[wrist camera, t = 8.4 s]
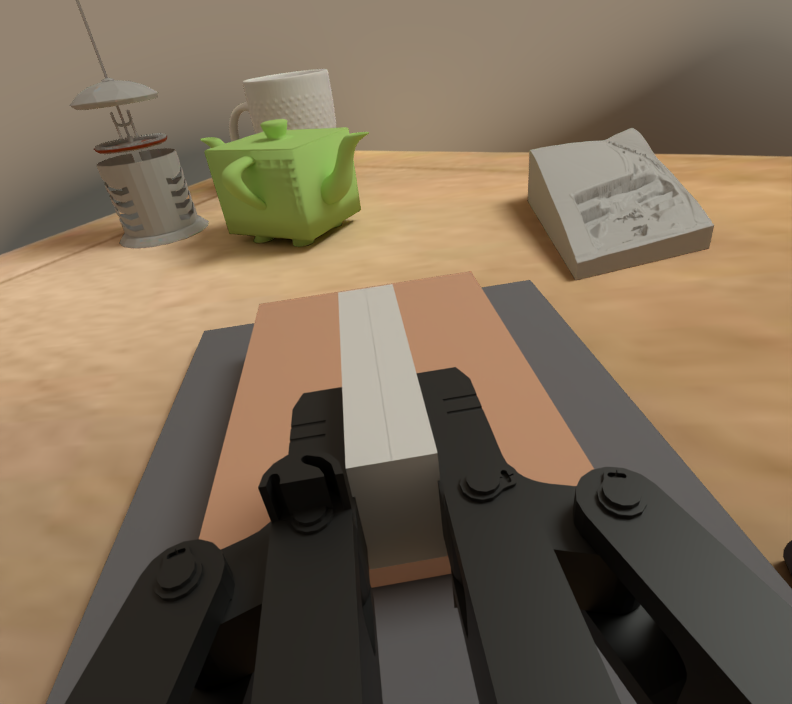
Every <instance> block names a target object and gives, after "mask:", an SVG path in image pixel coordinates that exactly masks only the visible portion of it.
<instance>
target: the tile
mask: <svg viewBox="0 0 792 704" xmlns="http://www.w3.org/2000/svg"><path fill="white" fill-rule="evenodd" d="M392 284H393V288H394V291H395V295H396V299H397V303H398V306H399V310H400V314H401V318H402V321H403V325H404V329H405V333H406V336H407V340H408V344H409V348H410V351H411V355H412V359H413V363H414V366H415V370H416V373H421V372H427V371H433V370H440V369H446V368H452V367H456V368H458V369H459V370H460V371H461V372H463V373H464V374H465V375H466V376H468V377H469V378H470V379H471V382H472V384H473V387H474V389H475V391H476V394H477V397H478V398H479V401H480V403H481V405H482V409H483V410H484V413H485V415H486V417H487V420H488V422H489V424H490V427H491V429H492V432H493V434H494V436H495V439H496V441H497V443H498V446H499V448H500V451H501V453H502V455H503V457H504V459H505V460H506V462H507V464H509V465H510V466H512V467H513V468H515V469H516V471H517V472H518V473H519V474H521V475H523V476H524V477H527V478H529V479H532V480H534V481H538V482H543V483H549V484H559V485H570V486H577V484H578V482H579V480H580V478H581V477H582V476H583V475H585V474H586V473H588V472H589V471H591V470H593V469H594V468H593V466H592V464H591V463H590V461H589V460H588V458H587V456H586V455H585V453H584V452H583V450H582V448H581V447H580V445H579V444H578V442H577V440H576V439H575V437H574V436H573V434H572V432H571V431H570V429H569V428H568V426H567V424H566V423H565V421H564V420H563V418H562V416H561V415H560V413H559V411H558V410H557V408H556V407H555V405H554V403H553V402H552V400H551V399H550V397H549V395H548V394H547V392H546V391H545V389H544V387H543V386H542V384H541V383H540V381H539V379H538V378H537V376H536V375H535V373H534V371H533V370H532V368H531V367H530V365H529V363H528V362H527V360H526V359H525V357H524V355H523V354H522V352H521V351H520V349H519V347H518V346H517V344H516V343H515V341H514V339H513V338H512V336H511V335H510V333H509V331H508V330H507V328H506V326H505V325H504V323H503V322H502V320H501V318H500V317H499V315H498V314H497V312H496V310H495V309H494V307H493V306H492V304H491V302H490V301H489V299H488V298H487V296H486V294H485V293H484V291H483V290H482V288H481V286H480V285H479V283H478V282H477V280H476V278H475V277H474V275H473V274H472V272H471V271H469V272H463V273H456V274H450V275H443V276H437V277H431V278H424V279H418V280H411V281H405V282H398V283H392ZM386 285H390V284H386ZM379 286H383V285H379ZM373 287H377V286H373ZM366 288H371V287H366ZM360 289H364V288H360ZM353 290H358V289H353ZM347 291H351V290H347ZM341 292H345V291H341ZM338 387H342V371H341V348H340V325H339V301H338V292H334V293H328V294H321V295H315V296H308V297H302V298H296V299H289V300H283V301H276V302H270V303H263V304H259V308H258V312H257V316H256V320H255V323H254V327H253V331H252V335H251V339H250V343H249V347H248V351H247V354H246V358H245V362H244V366H243V370H242V374H241V378H240V382H239V385H238V389H237V393H236V397H235V401H234V405H233V409H232V412H231V416H230V420H229V424H228V428H227V432H226V436H225V440H224V443H223V447H222V451H221V455H220V459H219V463H218V467H217V471H216V474H215V478H214V482H213V486H212V490H211V494H210V498H209V502H208V505H207V509H206V513H205V517H204V521H203V525H202V529H201V532H200V536H199V539H201V540H205V541H209V542H213V543H214V544H215V545H216V546H217V547H218V548H219V549H220V550H221V549H223V548H225V547H228V546H230V545H232V544H234V543H236V542H238V541H241V540H243V539H245V538H247V537H249V536H251V535H253V534H254V533H256V532H258V531H260V530H261V529H262V528H263V527H264V526H266V525H267V524H268V523H269V522H270V521H271V520H270V518H269V515H268V512H267V510H266V507H265V505H264V502H263V500H262V497H261V494H260V492H259V489H258V486H259V484H260V481H261V479H262V476H263V474H264V473H265V472H266V471H267V470H268V469H269V468H270V467H271V466H272V464H273V463H275V462H277V461H278V460H280V459H282V458H283V457H285V456H286V455H288V451H289V443H290V430H291V420H292V409H293V408H294V406H295V405H296V403H297V402H298V400H299V398H300V397H301V395H302V394H303V393H307V392H314V391H320V390H326V389H332V388H338ZM446 574H451V567H450V562H449V558H448V554H447V556H445V557H439V558H434V559H428V560H422V561H417V562H411V563H405V564H400V565H394V566H388V567H383V568H377V569H372V570H370V568H369V577H370V585H371V588H374V587H379V586H385V585H390V584H396V583H402V582H407V581H413V580H418V579H424V578H430V577H435V576H441V575H446Z"/></svg>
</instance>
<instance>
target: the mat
mask: <svg viewBox="0 0 792 704" xmlns="http://www.w3.org/2000/svg"><path fill="white" fill-rule="evenodd" d="M482 290H483V291H484V293H485V294H486V296H487V298H488V299H489V301H490V302H491V304H492V306H493V307H494V309H495V310H496V312H497V314H498V315H499V317H500V318H501V320H502V322H503V323H504V325H505V326H506V328H507V330H508V331H509V333H510V335H511V336H512V338H513V339H514V341H515V343H516V344H517V346H518V347H519V349H520V351H521V352H522V354H523V355H524V357H525V359H526V360H527V362H528V363H529V365H530V367H531V368H532V370H533V371H534V373H535V375H536V376H537V378H538V379H539V381H540V383H541V384H542V386H543V387H544V389H545V391H546V392H547V394H548V395H549V397H550V399H551V400H552V402H553V403H554V405H555V407H556V408H557V410H558V411H559V413H560V415H561V416H562V418H563V420H564V421H565V423H566V424H567V426H568V428H569V429H570V431H571V432H572V434H573V436H574V437H575V439H576V440H577V442H578V444H579V445H580V447H581V448H582V450H583V452H584V453H585V455H586V456H587V458H588V460H589V461H590V463H591V464H592V466H593V468H594V469H598V468H602V467H618V468H625V469H628V470H631V471H634V472H637V473H639V474H642V475H643V476H644V477H646V478H647V479H649V480H650V481H652V482H653V483H655V484H656V485H657V486H658V487H659V488H661V489H662V490H663V491H664V492H665V493H666V494H667V495H668V496H669V497H671V498H672V499H673V500H674V501H675V502H676V503H677V504H678V505H679V506H680V507H682V508H683V509H684V510H685V511H686V512H687V513H688V514H689V515H690V516H692V517H693V518H694V519H695V520H696V521H697V522H698V523H699V524H700V525H702V526H703V527H704V528H705V529H706V530H707V531H708V532H709V533H710V534H712V535H713V536H714V537H715V538H716V539H717V540H718V541H719V542H720V543H722V544H723V545H724V546H725V547H726V548H727V549H728V550H729V551H730V552H731V553H733V554H734V555H735V556H736V557H737V558H738V559H739V560H740V561H741V562H743V563H744V564H745V565H746V566H747V567H748V568H749V569H750V570H751V571H753V572H754V573H755V574H756V575H757V576H758V577H759V578H760V579H761V580H763V581H764V582H765V583H766V584H767V585H768V586H769V587H770V588H771V589H773V590H774V591H775V592H776V593H777V594H778V595H779V596H780V597H781V598H782V599H784V600H785V601H786V602H787V603H788V604H789V605H790V606H791V607H792V589H791V587H790V586H789V585H788V584H787V583H786V582H785V580H784V579H783V578H782V577H781V576H780V575H779V573H778V572H777V571H776V570H775V569H774V567H773V566H772V565H771V564H770V563H769V562H768V560H767V559H766V558H765V557H764V556H763V554H762V553H761V552H760V551H759V550H758V549H757V547H756V546H755V545H754V544H753V543H752V541H751V540H750V539H749V538H748V537H747V536H746V534H745V533H744V532H743V531H742V530H741V528H740V527H739V526H738V525H737V524H736V523H735V521H734V520H733V519H732V518H731V517H730V515H729V514H728V513H727V512H726V511H725V510H724V508H723V507H722V506H721V505H720V504H719V503H718V501H717V500H716V499H715V498H714V497H713V495H712V494H711V493H710V492H709V491H708V490H707V488H706V487H705V486H704V485H703V484H702V482H701V481H700V480H699V479H698V478H697V477H696V475H695V474H694V473H693V472H692V471H691V469H690V468H689V467H688V466H687V465H686V464H685V462H684V461H683V460H682V459H681V458H680V456H679V455H678V454H677V453H676V452H675V451H674V449H673V448H672V447H671V446H670V445H669V443H668V442H667V441H666V440H665V439H664V438H663V436H662V435H661V434H660V433H659V432H658V431H657V429H656V428H655V427H654V426H653V425H652V423H651V422H650V421H649V420H648V419H647V418H646V416H645V415H644V414H643V413H642V412H641V410H640V409H639V408H638V407H637V406H636V405H635V403H634V402H633V401H632V400H631V399H630V397H629V396H628V395H627V394H626V393H625V392H624V390H623V389H622V388H621V387H620V386H619V384H618V383H617V382H616V381H615V380H614V379H613V377H612V376H611V375H610V374H609V373H608V371H607V370H606V369H605V368H604V367H603V366H602V364H601V363H600V362H599V361H598V360H597V359H596V357H595V356H594V355H593V354H592V353H591V351H590V350H589V349H588V348H587V347H586V346H585V344H584V343H583V342H582V341H581V340H580V338H579V337H578V336H577V335H576V334H575V333H574V331H573V330H572V329H571V328H570V327H569V325H568V324H567V323H566V322H565V321H564V320H563V318H562V317H561V316H560V315H559V314H558V312H557V311H556V310H555V309H554V308H553V307H552V305H551V304H550V303H549V302H548V301H547V299H546V298H545V297H544V296H543V295H542V294H541V292H540V291H539V290H538V289H537V288H536V287H535V285H534V284H533V283H532V282H531V281H530V280H527V281H520V282H514V283H508V284H501V285H495V286H489V287H482ZM253 327H254V323H253V324H246V325H240V326H234V327H227V328H221V329H214V330H208V331H204V333H203V335H202V338H201V340H200V342H199V345H198V347H197V349H196V352H195V354H194V356H193V359H192V361H191V363H190V366H189V368H188V370H187V373H186V375H185V378H184V380H183V382H182V385H181V387H180V389H179V392H178V394H177V396H176V399H175V401H174V403H173V406H172V408H171V411H170V413H169V415H168V418H167V420H166V422H165V425H164V427H163V429H162V432H161V434H160V436H159V439H158V441H157V443H156V446H155V448H154V451H153V453H152V455H151V458H150V460H149V462H148V465H147V467H146V469H145V472H144V474H143V476H142V479H141V481H140V483H139V486H138V488H137V491H136V493H135V495H134V498H133V500H132V502H131V505H130V507H129V509H128V512H127V514H126V516H125V519H124V521H123V524H122V526H121V528H120V531H119V533H118V535H117V538H116V540H115V542H114V545H113V547H112V549H111V552H110V554H109V556H108V559H107V561H106V564H105V566H104V568H103V571H102V573H101V575H100V578H99V580H98V582H97V585H96V587H95V589H94V592H93V594H92V596H91V599H90V601H89V604H88V606H87V608H86V611H85V613H84V615H83V618H82V620H81V622H80V625H79V627H78V629H77V632H76V634H75V637H74V639H73V641H72V644H71V646H70V648H69V651H68V653H67V655H66V658H65V660H64V662H63V665H62V667H61V669H60V672H59V674H58V677H57V679H56V681H55V684H54V686H53V688H52V691H51V693H50V695H49V698H48V700H47V702H46V704H65V702H66V700H67V699H68V697H69V695H70V694H71V692H72V690H73V688H74V687H75V685H76V683H77V682H78V680H79V678H80V677H81V675H82V673H83V671H84V670H85V668H86V666H87V665H88V663H89V661H90V660H91V658H92V656H93V655H94V653H95V651H96V649H97V648H98V646H99V644H100V643H101V641H102V639H103V638H104V636H105V634H106V632H107V631H108V629H109V627H110V626H111V624H112V622H113V621H114V619H115V617H116V616H117V614H118V612H119V610H120V609H121V607H122V605H123V604H124V602H125V600H126V599H127V597H128V595H129V593H130V592H131V590H132V588H133V587H134V585H135V583H136V582H137V580H138V578H139V576H140V575H141V574H142V572H143V571H144V570H145V569H146V567H147V566H148V565H149V564H150V562H151V561H152V560H153V559H154V558H156V557H157V556H158V555H160V554H161V553H162V552H164V551H165V550H166V549H168V548H170V547H172V546H174V545H177V544H179V543H181V542H183V541H190V540H197V539H199V536H200V532H201V529H202V525H203V521H204V517H205V513H206V509H207V505H208V502H209V498H210V494H211V490H212V486H213V482H214V478H215V474H216V471H217V467H218V463H219V459H220V455H221V451H222V447H223V443H224V440H225V436H226V432H227V428H228V424H229V420H230V416H231V412H232V409H233V405H234V401H235V397H236V393H237V389H238V385H239V382H240V378H241V374H242V370H243V366H244V362H245V358H246V354H247V351H248V347H249V343H250V339H251V335H252V331H253ZM371 589H372V593H373V597H374V606H375V617H376V629H377V640H378V652H379V664H380V675H381V687H382V698H383V704H479V701H478V696H477V692H476V688H475V683H474V679H473V674H472V670H471V665H470V661H469V657H468V652H467V648H466V643H465V639H464V634H463V630H462V626H461V621H460V617H459V612H458V608H454V599H453V588H452V577H451V574H446V575H441V576H435V577H430V578H424V579H418V580H413V581H407V582H402V583H396V584H390V585H385V586H379V587H374V588H371ZM596 647H597V646H596ZM597 650H598V652H599V654H600V656H601V659H602V661H603V663H604V665H605V668H606V670H607V672H608V674H609V677H610V679H611V681H612V684H613V686H614V688H615V690H616V693H617V695H618V697H619V699H620V702H621V704H637V703H636V702H635V700H634V699H633V697H632V696H631V695H630V693H629V692H628V690H627V689H626V687H625V686H624V685H623V683H622V682H621V680H620V679H619V677H618V676H617V675H616V673H615V672H614V670H613V669H612V667H611V666H610V665H609V663H608V662H607V660H606V659H605V657H604V656H603V655H602V653H601V652H600V650H599V649H598V648H597Z"/></svg>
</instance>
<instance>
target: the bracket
mask: <svg viewBox="0 0 792 704" xmlns="http://www.w3.org/2000/svg"><path fill="white" fill-rule="evenodd" d="M783 557H784V560H785V562H786V564H787V566H788V569H789V571H790V573H791V575H792V540H791V541H790V542H789V543H788V544H787V545H786V547H785V549H784V554H783Z"/></svg>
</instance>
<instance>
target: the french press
mask: <svg viewBox="0 0 792 704" xmlns="http://www.w3.org/2000/svg"><path fill="white" fill-rule="evenodd" d="M76 2H77V5H78V8H79V10H80V12H81V15H82V18H83V21H84V23H85V26H86V29H87V31H88V34H89V36H90V39H91V42H92V44H93V47H94V49H95V52H96V55H97V57H98V60H99V62H100V65H101V68H102V71H103V73H104V76H105V79H103V80H102V82H101V83H98V84H96V85H93V86H90V87H88V88H86V89H85V90H83V91H82V92H81V93H79V94H78V95H77V96H76V98H75V99H74V100H73V101H72V103H71V104H70V106H71V107H72V108H74V109H76V110H89V109H96V108H97V109H98V108H104V107H112V106H116V107H117V110H118V113H119V115H120V118H121V120H122V123H123V124H118V123H117V122H116V121H115V118H114V115H113V113H112V112H111V113H110V115H111V117H112V120H113V122H114V124H115V126H116V129H117V131H118V134H119V137H120V139H118V140H114V141H115V142H114V141H110V142H112V143H110V142H109V141H108V142H109V143H108V142H105V143H103V144H102V143H101V144H100V145H97V146H95V148H94V150H95V151H96V152H98V153H101V154H111V153H122V152H126V155H120V156H117V157H113V158H109V159H107V160H104V161H102V162H99V163H98V164H97V168H98V170H99V173H100V175H101V178H102V179H103V180H104V181H105V186H106V189H107V192H108V193H109V194H110V198H111V201H112V203H113V205H114V206H115V210H116V213H117V215H118V216H119V217H120V219H119V220H120V222H121V224H122V227H123V229H124V231H125V233H124V235H123V236H122V239H121V241H120V244H121V245H122V246H123V247H128V248H145V247H154V246H159V245H164V244H169V243H173V242H176V241H179V240H182V239H185V238H188V237H190V236H192V235H195V234H197V233H199V232H201V231H202V230H203V229H205V228H206V227H207V226H208V222H209V221H208V220H206V219H204V218H202V217H201V216H199V215H197V212H196V209H195V206H194V203H193V202H192V198H191V194H190V191H189V190H188V186H187V182H186V179H184V174H183V171H182V168H181V167H180V161H179V158H178V156H177V153H176V150H175V149H167V148H165V149H153V150H147V151H143V149H144V148H148V147H152V146H155V145H159V144H161V143H163V142H164V141H166V139H167V136H166V135H165V134H161V133H160V134H152V136H151V135H149V136H148V135H146V136H145V135H144V136H143V137H142V135H141V137H139V136H138V134H137V131H136V129H135V126H134V123H133V121H132V117H131V114H130V111H129V110H127V114H128V116H129V120H130V121H129V122H128V123H125V122H124V119H123V117H122V114H121V111H120V109H119V106H118V105H124V104H130V103H136V102H140V101H146V100H150V99H154V98H157V96H158V92H156V91H155V90H153V89H151V88H149V87H147V86H145V85H142V84H139V83H135V82H131V81H116V80H114V79H112V78H108V77H107V74H106V71H105V69H104V66H103V64H102V61H101V58H100V56H99V53H98V50H97V48H96V45H95V42H94V40H93V37H92V34H91V32H90V29H89V26H88V24H87V21H86V18H85V16H84V13H83V11H82V8H81V5H80V3H79V0H76ZM130 124H131V125H132V128H133V130H134V133H135V135H136V136H135V138H133V137H132V136H130V135H129V133H128V130H127V127H126V126H128V125H130ZM118 126H120V127H123V126H124V128H125V131H126V133H127V138H125V140H124V139H123V138H122V135H121V133H120V130H119V128H118ZM119 140H120V141H119ZM139 149H141V152H139V154H140V157H141V159H142V162H137V163H135V162H134V159H133V156H132V154H128V152H129V151H134V150H139ZM179 171H181V172H182V176H181V177H177V178H175V179H174V180H172V179H171V178H174V177H176V175H177V174H178V173H179ZM184 183H185V184H186V188H182V186H183V185H184ZM108 186H109V187H112V188H115V189H121V188H122V190H123V191H117V190H116V191H110V190H109V189H108ZM181 188H182V189H181ZM188 195H189V196H190V199H186V198H187V197H188ZM113 198H114V199H115V200H117V201H120V202H119V203H115V202H114V201H113ZM118 210H119V211H120V212H122V213H125V214H119V212H118Z"/></svg>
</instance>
